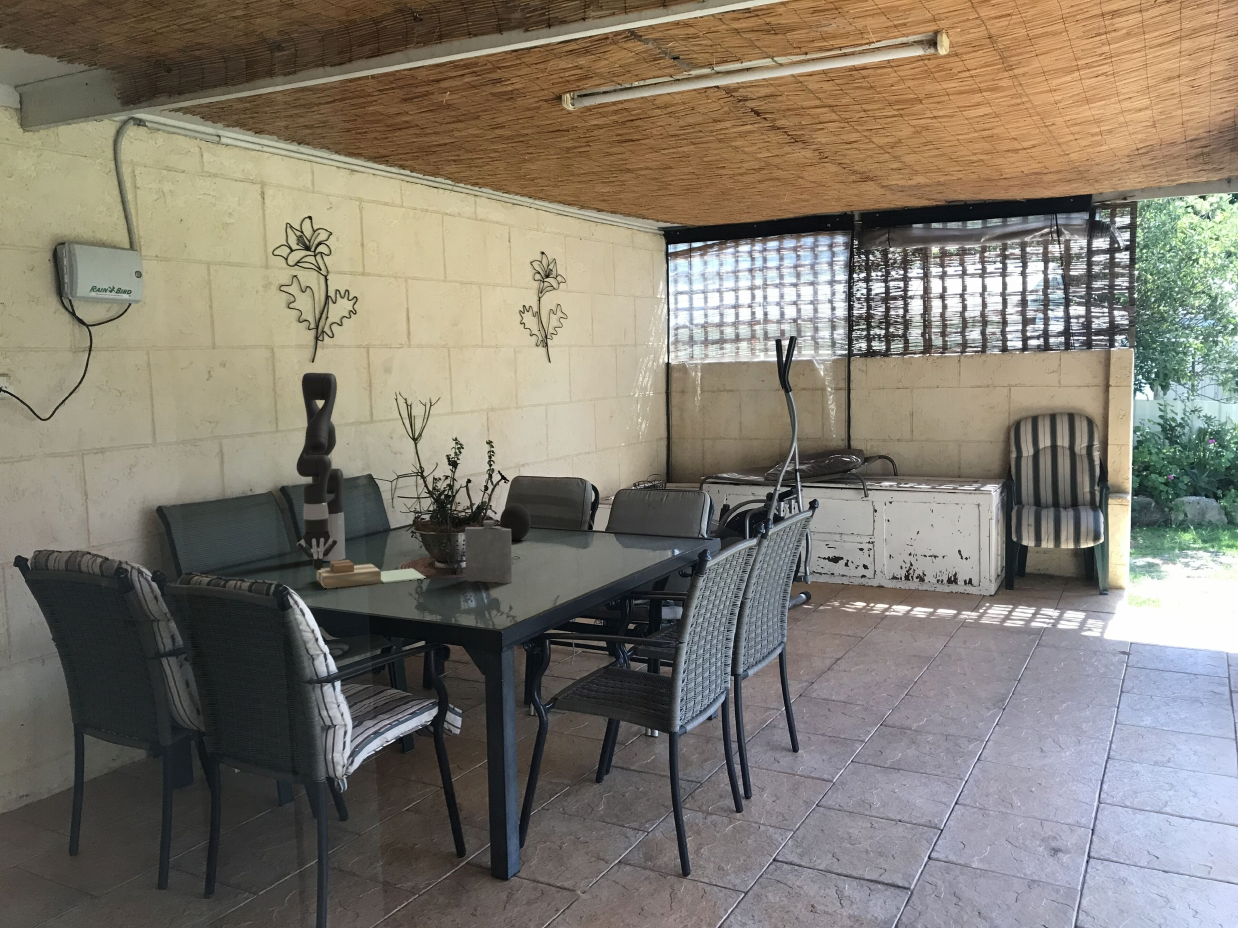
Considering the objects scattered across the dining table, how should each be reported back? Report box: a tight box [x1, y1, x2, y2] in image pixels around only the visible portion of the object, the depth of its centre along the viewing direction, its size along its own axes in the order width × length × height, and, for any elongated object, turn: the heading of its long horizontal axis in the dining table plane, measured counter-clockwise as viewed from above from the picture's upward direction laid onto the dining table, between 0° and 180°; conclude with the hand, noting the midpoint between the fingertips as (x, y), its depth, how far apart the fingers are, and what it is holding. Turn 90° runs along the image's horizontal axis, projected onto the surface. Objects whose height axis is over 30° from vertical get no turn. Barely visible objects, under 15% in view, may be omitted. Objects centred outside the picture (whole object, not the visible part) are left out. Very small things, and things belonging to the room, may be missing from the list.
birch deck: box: [315, 563, 382, 589], centre depth 323 cm, size 13×18×4 cm
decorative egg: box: [499, 503, 532, 542], centre depth 396 cm, size 12×12×15 cm
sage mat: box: [381, 567, 427, 584], centre depth 331 cm, size 16×14×1 cm
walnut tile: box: [329, 559, 355, 574], centre depth 322 cm, size 8×6×2 cm
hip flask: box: [464, 520, 513, 584], centre depth 322 cm, size 16×4×20 cm, turn 75°
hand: (317, 569), depth 318 cm, fingers closed
